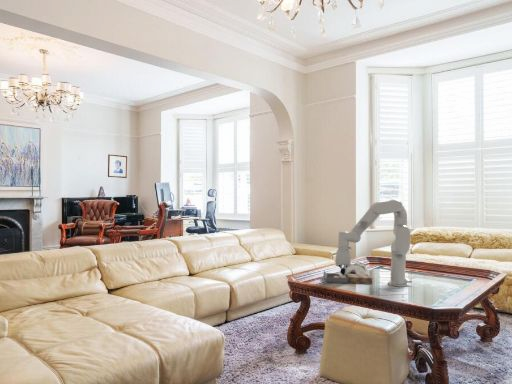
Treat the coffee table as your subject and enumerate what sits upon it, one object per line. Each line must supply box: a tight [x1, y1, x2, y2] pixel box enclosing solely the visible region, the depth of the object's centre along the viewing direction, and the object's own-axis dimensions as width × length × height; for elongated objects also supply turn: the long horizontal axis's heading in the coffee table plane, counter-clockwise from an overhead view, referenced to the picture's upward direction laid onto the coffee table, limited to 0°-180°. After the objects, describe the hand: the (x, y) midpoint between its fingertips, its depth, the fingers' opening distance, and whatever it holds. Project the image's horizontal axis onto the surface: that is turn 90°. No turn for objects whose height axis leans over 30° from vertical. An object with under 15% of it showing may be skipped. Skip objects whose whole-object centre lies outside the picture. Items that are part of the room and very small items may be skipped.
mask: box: [344, 260, 370, 276], centre depth 302 cm, size 20×9×30 cm
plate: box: [345, 273, 373, 285], centre depth 272 cm, size 16×12×4 cm
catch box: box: [323, 270, 349, 284], centre depth 272 cm, size 15×14×5 cm
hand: (342, 274), depth 272 cm, fingers closed
